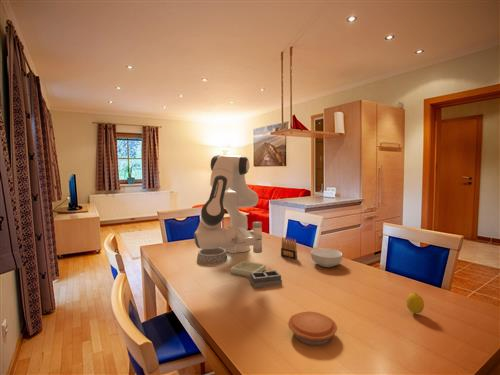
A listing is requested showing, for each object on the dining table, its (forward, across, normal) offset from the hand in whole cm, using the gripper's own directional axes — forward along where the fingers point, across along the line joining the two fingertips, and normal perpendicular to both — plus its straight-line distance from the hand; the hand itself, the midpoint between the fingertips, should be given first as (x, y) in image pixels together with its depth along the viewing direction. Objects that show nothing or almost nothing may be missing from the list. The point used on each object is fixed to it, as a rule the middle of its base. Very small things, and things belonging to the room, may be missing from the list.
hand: (259, 234), depth 133 cm
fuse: (-1, 0, +8) cm, 8 cm away
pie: (+4, -46, +22) cm, 51 cm away
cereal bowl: (+42, +10, +23) cm, 48 cm away
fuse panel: (+2, -3, +22) cm, 23 cm away
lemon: (+46, -45, +22) cm, 68 cm away
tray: (-2, +13, +22) cm, 26 cm away
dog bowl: (-18, +38, +23) cm, 48 cm away
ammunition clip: (+27, +28, +23) cm, 45 cm away
